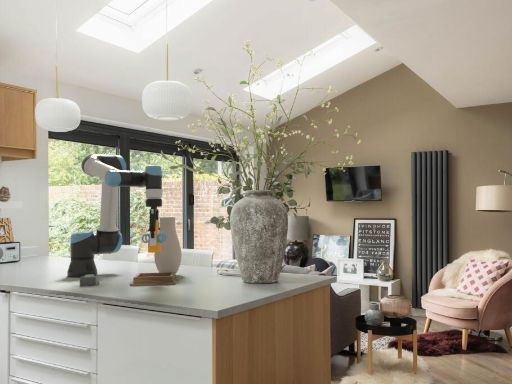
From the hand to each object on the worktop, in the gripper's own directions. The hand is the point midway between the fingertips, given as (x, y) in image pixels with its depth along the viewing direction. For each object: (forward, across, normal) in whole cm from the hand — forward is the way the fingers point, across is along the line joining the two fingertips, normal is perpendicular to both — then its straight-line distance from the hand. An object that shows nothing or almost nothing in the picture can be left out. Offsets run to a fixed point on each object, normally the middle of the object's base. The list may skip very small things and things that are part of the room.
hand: (154, 244), depth 238 cm
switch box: (+17, +3, -29) cm, 34 cm away
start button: (+16, +3, -29) cm, 33 cm away
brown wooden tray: (+17, 0, 0) cm, 17 cm away
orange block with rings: (+4, 0, 0) cm, 4 cm away
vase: (+18, -25, +4) cm, 31 cm away
